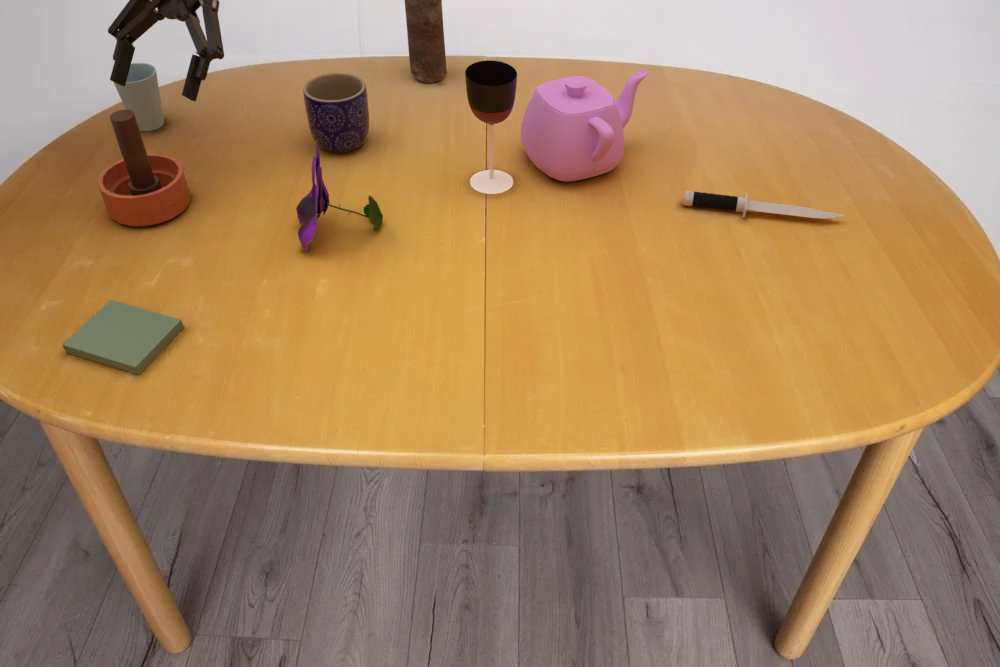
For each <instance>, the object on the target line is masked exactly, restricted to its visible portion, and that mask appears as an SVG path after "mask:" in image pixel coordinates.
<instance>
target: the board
mask: <svg viewBox="0 0 1000 667" xmlns="http://www.w3.org/2000/svg"><path fill="white" fill-rule="evenodd" d="M184 328H185V327H184V324H183V321H182V319H180V318H176V317H173V316H169V315H166V314H163V313H158V312H155V311H152V310H148V309H145V308H142V307H138V306H135V305H131V304H127V303H123V302H120V301H118V300H113V299H110V300H109V301H108V302H107V303H105V305H104V306H102V307H101V308H100V309H99V310H98V311H97V312H96V313H95V314H94V315H93V316H92V317H90V318H89V319H88V320H87V321H85V323H84V324H83V325H82V326H81V327H80V328H79V329H77V331H75V332H74V333H73V334H72V335H71V336H69V338H68V339H66V341H65V342H63V343H62V344H61V345H62V347H63V350H64V352H65V353H66V354H69V355H73V356H76V357H79V358H82V359H85V360H89V361H92V362H95V363H98V364H102V365H105V366H107V367H112V368H115V369H118V370H122V371H124V372H128V373H131V374H134V375H137V376H139V375H140V374H141V373H142V372H143V371H144V370H145V369H146V368H147V367H148V366H149V365H150V364H151V363H152V362H153V361H154V359H155V358H156V357H157V356H158V355H159V354H160V353H161V352H162V351H163V350H164V349H165V348H166V347H167V346H168V345H169V344H170V343H171V342H172V341H173V340H174V338H176V336H177V335H178V334H179V333H180V332H181V331H182V330H184Z"/></svg>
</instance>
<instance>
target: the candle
mask: <svg viewBox="0 0 1000 667" xmlns="http://www.w3.org/2000/svg"><path fill="white" fill-rule="evenodd" d="M403 1H404V10H405V21H406V31H407V32H406V33H407V47H408V48H407V49H408V59H409V67H410V73H411V75H412V76H413V78H414V79H417V80H418V81H421V82H422V83H424V84H433V83H436V82H439V81H442V80H443V78H444V77H445V76H446V74H447V73H448V72H447V69H448V68H447V58H446V57H447V56H446V44H445V30H444V29H445V28H444V18H443V17H444V15H443V0H403Z"/></svg>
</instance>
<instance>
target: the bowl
mask: <svg viewBox="0 0 1000 667" xmlns="http://www.w3.org/2000/svg"><path fill="white" fill-rule="evenodd" d="M147 156H148V159H149V162H150V165H151V168H152V172H153V175H155V176H157V177H158V178H159V181H160V184H161V187H162V188H161V189H159V190H157V191H154V192H151V193H148V194H142V195H135V196H132V195H131V193H130V190H129V187H128V183H129V181H130V177H129V174H128V171H127V168H126V165H125V162H124V159H123V158H122V159H119V160H117V161H114V162H113V163H111V164H110V165H108V166H106V168H104V169H103V170H102V171H101V173H100V175H99V176H98V179H97V186H98V190H99V191H100V194H101V198H102V200H103V203H104V205H105V208H106V211H107V214H108V215H109V217H110V218H111V219H112V220H113V221H115V222H116V223H117V224H122V225H125V226H130V227H146V226H154V225H158V224H161V223H164V222H167V221H170V220H172V219H173V218H175V217H177V216H178V215H180V214H181V213H182V212H184V211H185V210H186V209H187V208H188V206H189V205H190V202H191V192H190V187H189V185H188V180H187V177H186V173H185V170H184V166H183V165H182V163H181V162H180V160H178V159H177V158H175V157H173V156H171V155H167V154H163V153H149V152H147Z"/></svg>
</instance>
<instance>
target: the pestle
mask: <svg viewBox="0 0 1000 667" xmlns="http://www.w3.org/2000/svg"><path fill="white" fill-rule="evenodd" d="M109 120H110V123H111V126H112V129H113V132H114V135H115V138H116V141H117V144H118V147H119V150H120V153H121V156H122V159H124V162H125V165H126V168H127V171H128V174H129V177H130V181H129V183H128V187H129V190H130V193H131V195H132V196H135V195H142V194H148V193H151V192H154V191H157V190H159V189H161V188H162V187H161V184H160V181H159V178H158V177H157V176H155V175H153V172H152V168H151V165H150V162H149V159H148V156H147V154H148V152H147V149H146V145H145V143H144V140H143V136H142V134H141V131H140V130H139V127H138V124H137V120H136V117H135V114H134V112H133V111H131V110H126V109H119V110H116V111H114V112H112V113H111V114H109Z"/></svg>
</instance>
